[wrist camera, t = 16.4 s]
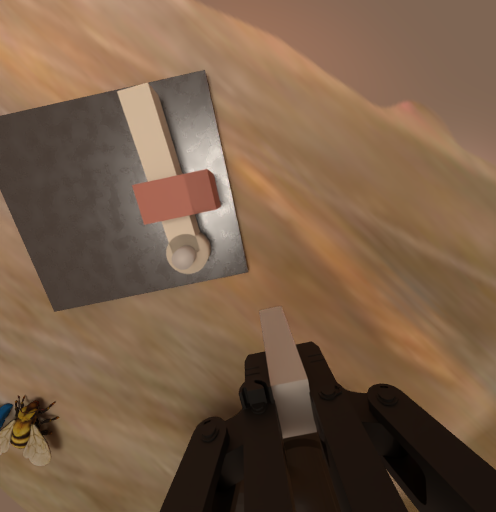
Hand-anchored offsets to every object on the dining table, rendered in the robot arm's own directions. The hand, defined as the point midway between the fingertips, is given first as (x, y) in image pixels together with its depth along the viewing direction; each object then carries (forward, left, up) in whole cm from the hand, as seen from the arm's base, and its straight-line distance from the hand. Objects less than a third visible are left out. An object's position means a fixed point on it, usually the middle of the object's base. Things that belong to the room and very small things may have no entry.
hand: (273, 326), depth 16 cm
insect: (-25, +49, -27) cm, 61 cm away
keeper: (+10, +9, -25) cm, 28 cm away
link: (+11, +10, -24) cm, 29 cm away
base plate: (+11, +19, -26) cm, 34 cm away
